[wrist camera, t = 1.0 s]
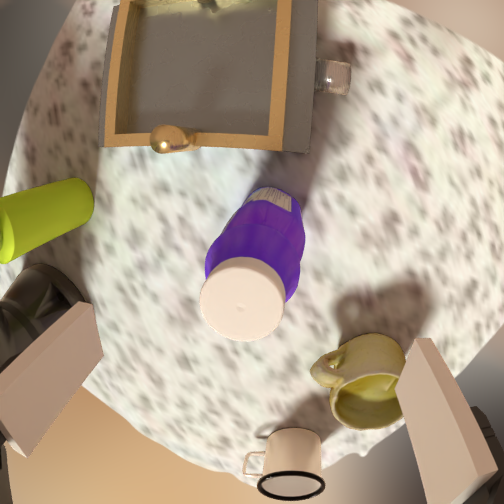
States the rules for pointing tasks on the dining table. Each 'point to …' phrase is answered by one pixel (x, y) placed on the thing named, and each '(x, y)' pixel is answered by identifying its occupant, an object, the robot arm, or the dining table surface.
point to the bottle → (254, 266)
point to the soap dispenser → (42, 215)
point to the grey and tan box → (214, 75)
